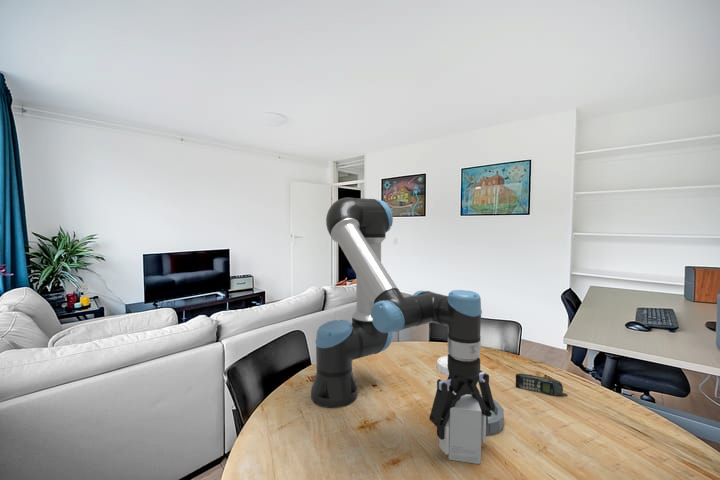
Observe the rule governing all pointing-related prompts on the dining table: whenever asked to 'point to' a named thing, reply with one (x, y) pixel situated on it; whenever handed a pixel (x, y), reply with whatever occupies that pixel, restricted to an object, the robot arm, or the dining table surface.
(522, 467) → the dining table surface
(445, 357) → the mooncake
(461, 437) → the supplement box
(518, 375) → the mobile phone
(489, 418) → the round tray
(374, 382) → the dining table surface
